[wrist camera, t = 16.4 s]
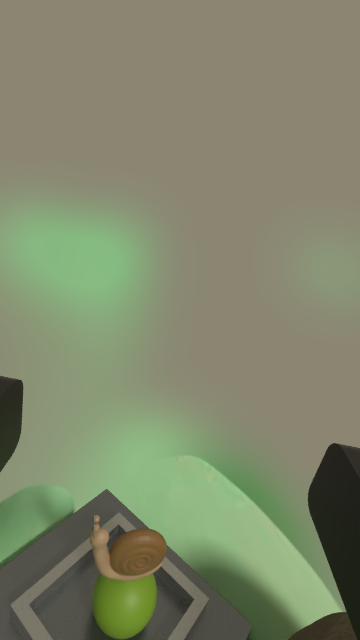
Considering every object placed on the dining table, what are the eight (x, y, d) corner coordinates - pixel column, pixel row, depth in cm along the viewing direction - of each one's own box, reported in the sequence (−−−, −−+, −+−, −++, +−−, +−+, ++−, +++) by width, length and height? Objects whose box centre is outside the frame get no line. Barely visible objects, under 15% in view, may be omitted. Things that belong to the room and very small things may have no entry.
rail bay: (-39, 605, 28) (-40, 586, 27) (105, 494, 41) (108, 479, 40) (125, 898, 18) (132, 884, 17) (249, 631, 31) (257, 615, 30)
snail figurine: (78, 585, 30) (92, 489, 26) (146, 577, 32) (170, 486, 28) (74, 662, 26) (92, 560, 21) (155, 648, 27) (186, 551, 23)
